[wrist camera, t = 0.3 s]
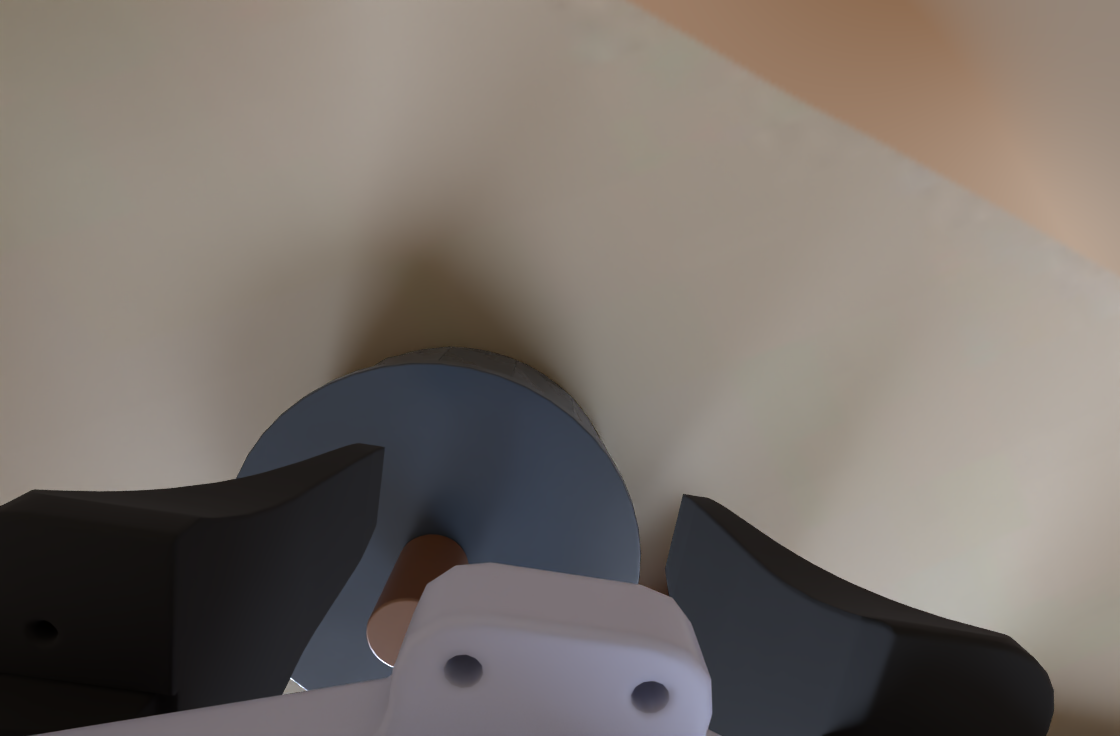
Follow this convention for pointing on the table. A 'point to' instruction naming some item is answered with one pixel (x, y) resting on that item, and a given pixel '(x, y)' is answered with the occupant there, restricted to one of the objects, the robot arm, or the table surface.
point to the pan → (503, 366)
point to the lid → (451, 496)
